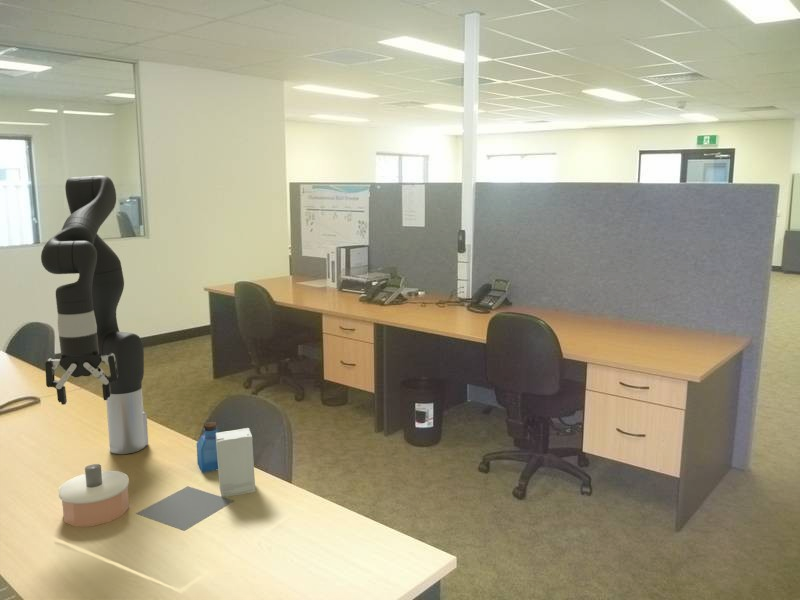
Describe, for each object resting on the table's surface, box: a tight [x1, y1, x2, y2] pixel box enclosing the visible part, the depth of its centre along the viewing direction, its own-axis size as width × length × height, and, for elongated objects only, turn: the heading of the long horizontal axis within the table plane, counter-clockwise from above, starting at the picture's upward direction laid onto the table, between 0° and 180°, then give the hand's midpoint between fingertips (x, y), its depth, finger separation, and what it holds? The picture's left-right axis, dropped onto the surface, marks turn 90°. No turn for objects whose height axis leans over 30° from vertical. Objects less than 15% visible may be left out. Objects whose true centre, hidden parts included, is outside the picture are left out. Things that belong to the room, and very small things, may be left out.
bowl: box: [61, 486, 130, 527], centre depth 139 cm, size 13×13×6 cm
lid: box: [58, 463, 130, 504], centre depth 138 cm, size 14×14×6 cm
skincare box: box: [216, 427, 256, 498], centre depth 149 cm, size 8×6×15 cm
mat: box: [135, 485, 235, 532], centre depth 142 cm, size 15×15×1 cm
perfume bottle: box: [196, 421, 218, 474], centre depth 163 cm, size 6×6×12 cm
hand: (85, 401), depth 141 cm, fingers open, 8 cm apart
